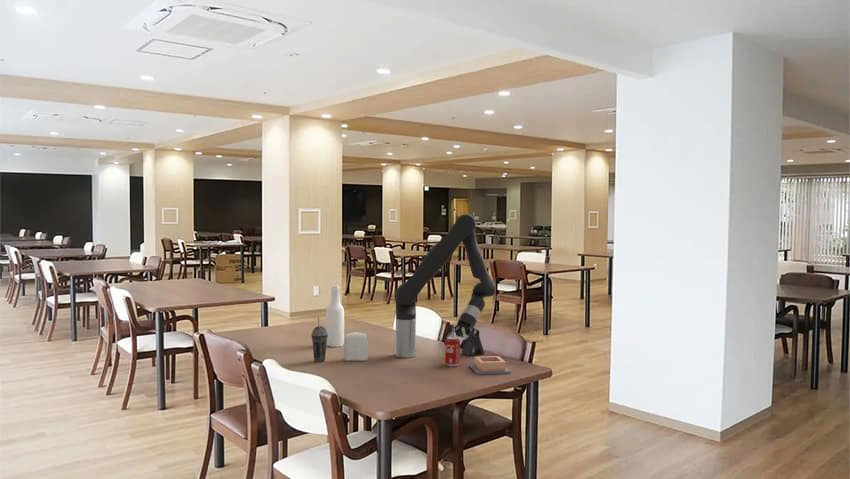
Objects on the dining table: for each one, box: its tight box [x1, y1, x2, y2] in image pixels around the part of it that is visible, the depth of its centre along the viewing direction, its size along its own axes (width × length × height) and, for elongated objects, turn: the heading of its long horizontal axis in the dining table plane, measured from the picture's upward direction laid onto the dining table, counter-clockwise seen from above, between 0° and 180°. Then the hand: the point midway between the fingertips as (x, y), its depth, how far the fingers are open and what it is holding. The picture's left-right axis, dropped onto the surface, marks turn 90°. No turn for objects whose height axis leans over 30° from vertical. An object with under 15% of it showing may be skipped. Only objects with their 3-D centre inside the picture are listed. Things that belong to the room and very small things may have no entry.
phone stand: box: [461, 328, 485, 357], centre depth 283 cm, size 9×6×12 cm, turn 118°
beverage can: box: [444, 336, 461, 367], centre depth 261 cm, size 6×6×12 cm
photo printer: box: [344, 331, 369, 362], centre depth 269 cm, size 10×4×12 cm, turn 89°
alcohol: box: [325, 284, 345, 348], centre depth 299 cm, size 9×9×30 cm
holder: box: [469, 355, 512, 376], centre depth 254 cm, size 14×14×4 cm
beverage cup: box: [311, 316, 328, 364], centre depth 265 cm, size 7×7×20 cm
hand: (453, 346), depth 262 cm, fingers open, 8 cm apart
